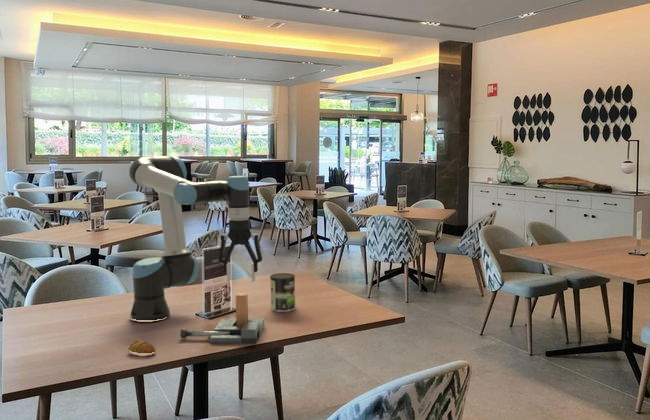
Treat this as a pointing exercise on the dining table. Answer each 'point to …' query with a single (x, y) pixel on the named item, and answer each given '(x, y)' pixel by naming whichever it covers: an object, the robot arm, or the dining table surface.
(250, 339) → the dock
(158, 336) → the dining table surface
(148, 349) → the pastry
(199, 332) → the lock pin
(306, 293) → the dining table surface
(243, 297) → the wooden block
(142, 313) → the robot arm
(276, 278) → the coffee can
